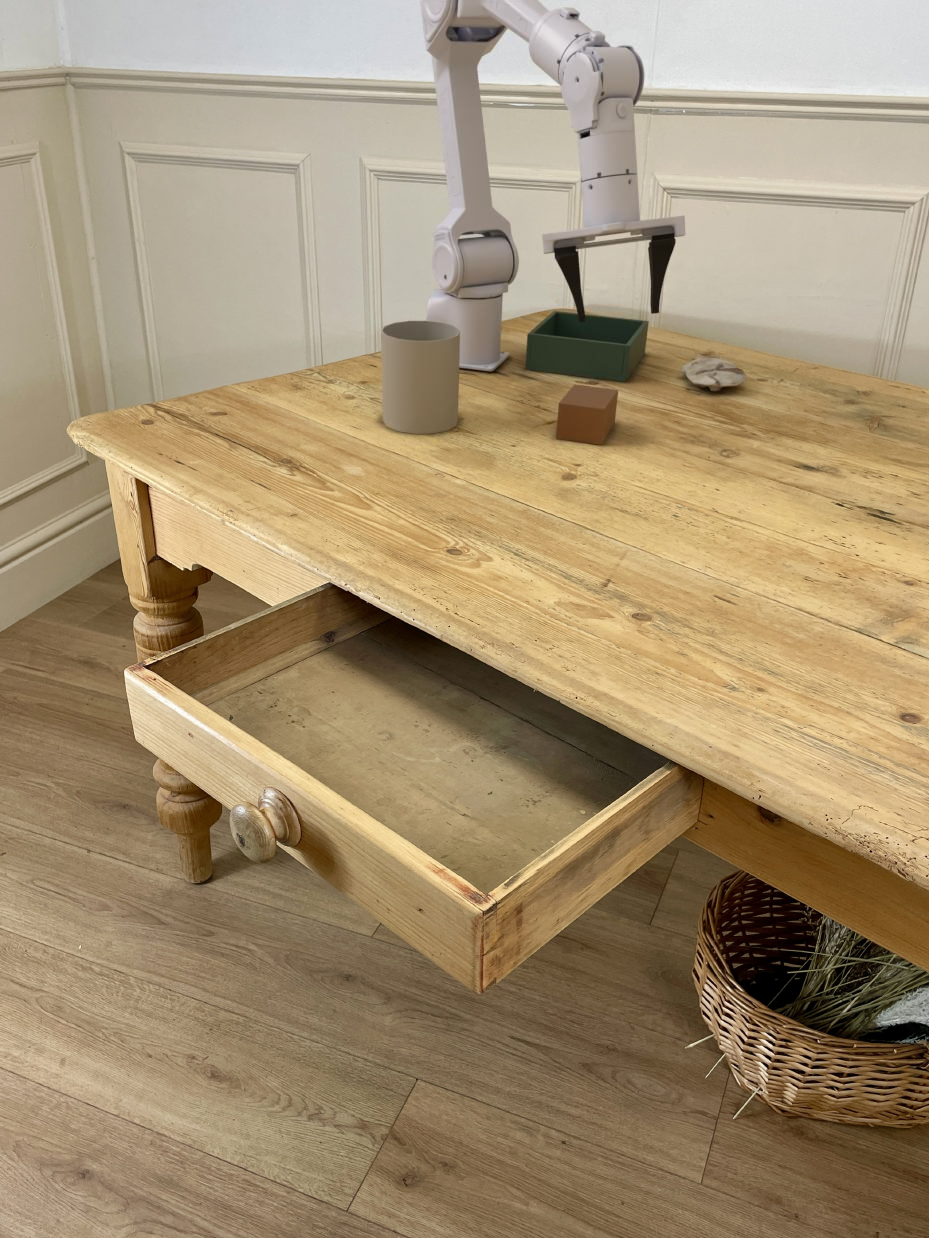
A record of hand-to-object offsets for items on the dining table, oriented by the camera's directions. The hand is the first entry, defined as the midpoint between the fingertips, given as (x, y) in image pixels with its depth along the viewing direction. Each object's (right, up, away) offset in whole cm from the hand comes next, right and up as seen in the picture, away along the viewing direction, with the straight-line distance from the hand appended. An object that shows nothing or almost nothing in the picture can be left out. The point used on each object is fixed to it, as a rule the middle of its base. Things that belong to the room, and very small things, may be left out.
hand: (618, 317), depth 105 cm
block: (-3, -11, +4) cm, 12 cm away
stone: (+15, -3, +20) cm, 25 cm away
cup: (-21, -10, +6) cm, 24 cm away
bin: (0, +2, +27) cm, 27 cm away
